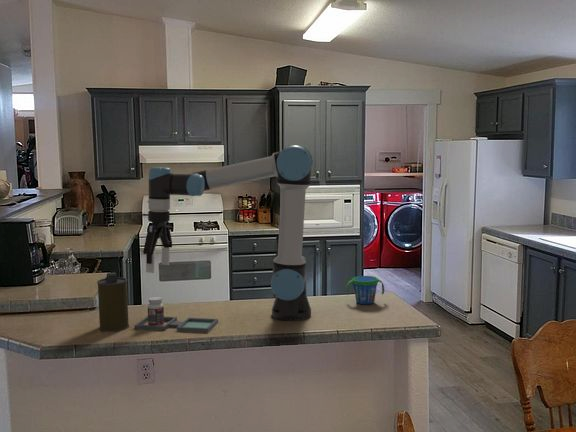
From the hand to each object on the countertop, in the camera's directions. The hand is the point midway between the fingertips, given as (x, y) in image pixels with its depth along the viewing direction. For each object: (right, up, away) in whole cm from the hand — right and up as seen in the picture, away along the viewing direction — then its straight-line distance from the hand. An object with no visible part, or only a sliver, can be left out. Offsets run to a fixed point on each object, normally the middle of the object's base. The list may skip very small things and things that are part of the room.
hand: (157, 268), depth 209 cm
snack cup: (+79, -17, +29) cm, 86 cm away
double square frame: (+7, -21, +1) cm, 22 cm away
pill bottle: (-1, -21, +2) cm, 21 cm away
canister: (-16, -21, 0) cm, 27 cm away
